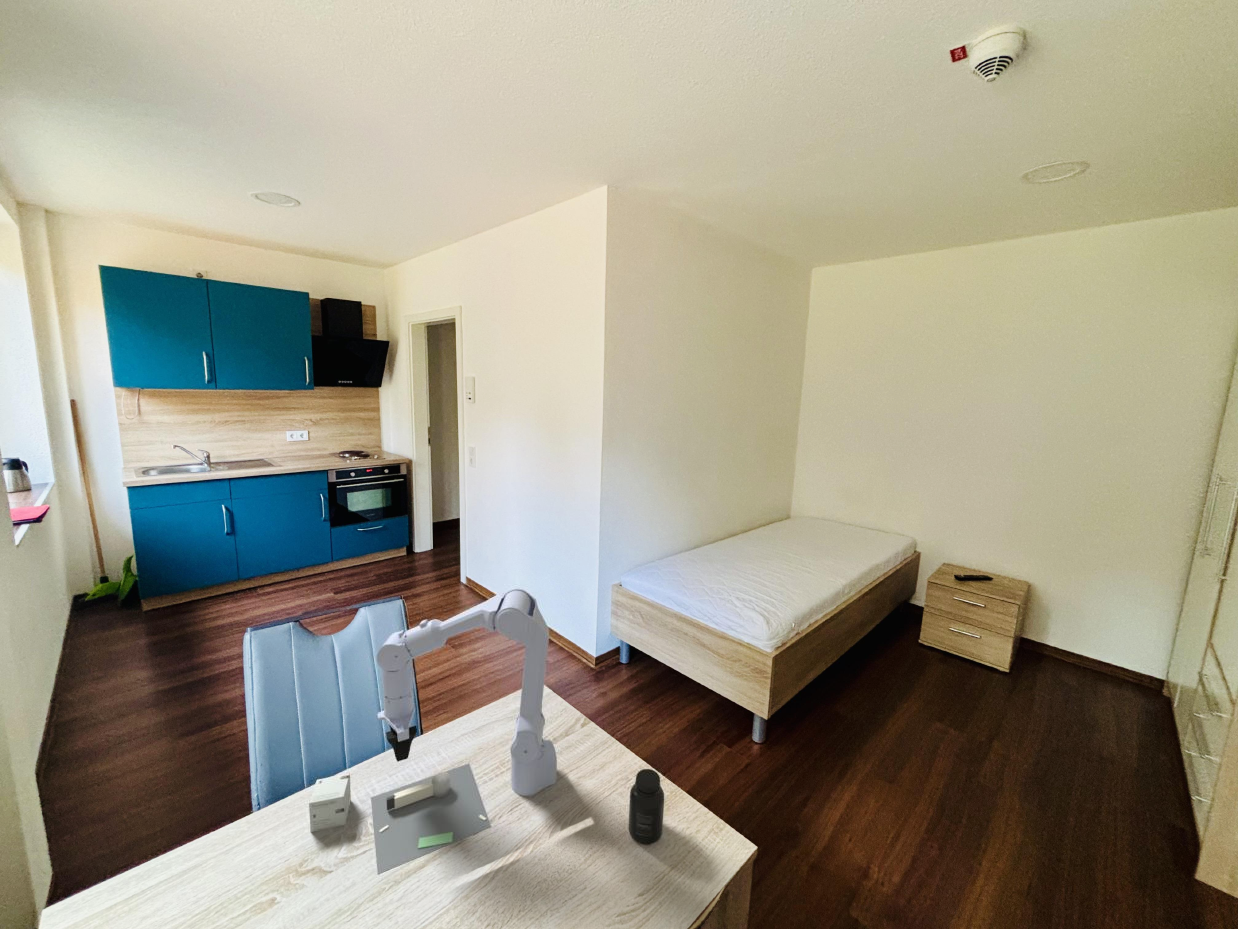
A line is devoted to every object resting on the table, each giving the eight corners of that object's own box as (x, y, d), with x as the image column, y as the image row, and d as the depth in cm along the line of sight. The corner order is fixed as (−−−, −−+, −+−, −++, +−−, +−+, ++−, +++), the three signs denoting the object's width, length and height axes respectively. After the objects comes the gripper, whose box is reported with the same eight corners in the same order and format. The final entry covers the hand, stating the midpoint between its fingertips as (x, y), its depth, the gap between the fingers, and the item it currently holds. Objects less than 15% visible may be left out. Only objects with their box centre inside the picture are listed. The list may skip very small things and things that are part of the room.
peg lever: (448, 782, 106) (448, 769, 105) (451, 794, 103) (451, 782, 102) (386, 804, 100) (385, 791, 99) (387, 818, 97) (387, 805, 96)
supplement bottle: (669, 831, 98) (672, 778, 96) (647, 854, 93) (650, 799, 91) (643, 809, 102) (646, 759, 100) (620, 830, 97) (623, 777, 95)
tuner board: (469, 767, 111) (469, 762, 111) (491, 831, 96) (491, 825, 96) (371, 801, 101) (370, 796, 101) (377, 879, 86) (377, 873, 86)
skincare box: (310, 837, 93) (307, 803, 92) (318, 810, 99) (316, 778, 98) (346, 829, 95) (344, 796, 94) (352, 803, 101) (350, 772, 99)
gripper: (374, 676, 105) (376, 732, 108) (379, 717, 93) (382, 780, 95) (409, 668, 109) (411, 722, 111) (419, 707, 97) (421, 767, 99)
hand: (400, 748), depth 103 cm, fingers open, 6 cm apart
